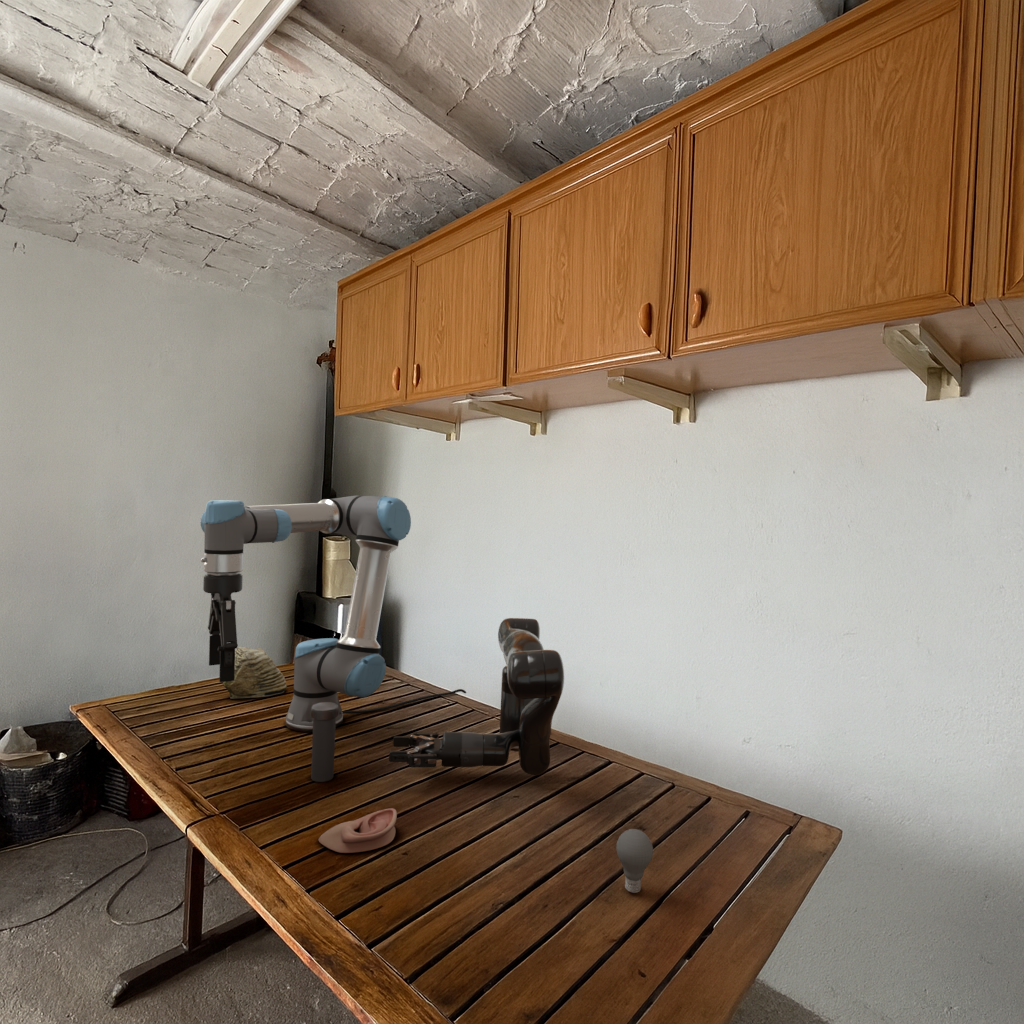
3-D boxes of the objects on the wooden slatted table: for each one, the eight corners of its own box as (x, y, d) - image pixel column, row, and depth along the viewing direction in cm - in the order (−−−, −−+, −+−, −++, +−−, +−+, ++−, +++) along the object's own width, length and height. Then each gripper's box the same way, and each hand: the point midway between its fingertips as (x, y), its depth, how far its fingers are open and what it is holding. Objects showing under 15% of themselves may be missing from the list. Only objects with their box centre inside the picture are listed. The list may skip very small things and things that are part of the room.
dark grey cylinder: (318, 771, 146) (321, 703, 146) (337, 774, 145) (340, 706, 144) (306, 779, 141) (309, 710, 141) (325, 783, 140) (328, 713, 140)
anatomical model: (310, 826, 114) (340, 797, 125) (309, 848, 114) (339, 817, 125) (379, 837, 111) (403, 806, 122) (378, 859, 111) (403, 827, 123)
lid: (320, 710, 146) (320, 700, 146) (343, 713, 145) (343, 704, 145) (305, 718, 141) (306, 708, 141) (329, 721, 139) (329, 711, 139)
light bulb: (610, 879, 108) (613, 822, 108) (644, 879, 109) (647, 822, 109) (619, 902, 102) (622, 840, 102) (655, 901, 103) (658, 840, 103)
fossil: (218, 695, 195) (220, 647, 195) (278, 685, 208) (279, 640, 207) (228, 703, 189) (230, 653, 188) (289, 692, 201) (290, 645, 201)
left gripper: (195, 566, 142) (193, 660, 143) (213, 582, 121) (211, 691, 122) (231, 565, 146) (229, 656, 147) (254, 580, 126) (252, 686, 126)
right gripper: (463, 722, 152) (394, 721, 151) (464, 745, 138) (388, 744, 136) (461, 753, 152) (393, 752, 151) (462, 779, 138) (387, 779, 137)
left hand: (221, 672), depth 135 cm, fingers open, 13 cm apart
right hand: (391, 748), depth 144 cm, fingers open, 8 cm apart
